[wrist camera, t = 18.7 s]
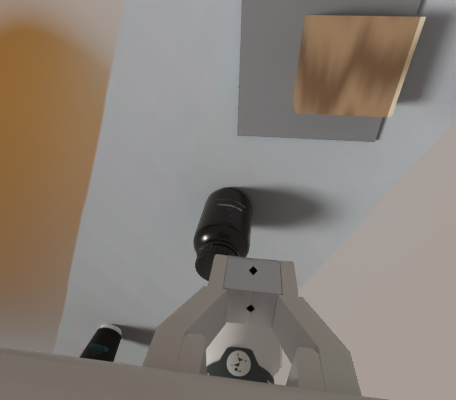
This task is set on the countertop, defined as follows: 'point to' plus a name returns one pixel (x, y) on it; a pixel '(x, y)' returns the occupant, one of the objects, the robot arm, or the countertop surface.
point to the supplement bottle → (222, 229)
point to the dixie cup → (103, 344)
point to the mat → (295, 68)
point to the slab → (354, 63)
